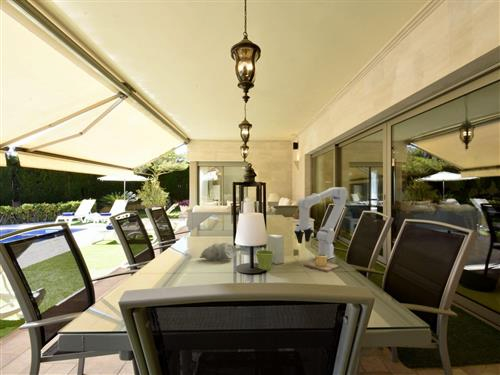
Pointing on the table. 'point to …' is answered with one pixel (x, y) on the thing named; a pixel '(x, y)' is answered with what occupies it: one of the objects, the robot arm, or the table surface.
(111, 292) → the table surface
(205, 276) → the table surface
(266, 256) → the plant pot
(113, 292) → the table surface
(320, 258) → the cap
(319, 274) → the table surface
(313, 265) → the post board
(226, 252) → the seashell
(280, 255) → the skincare box
